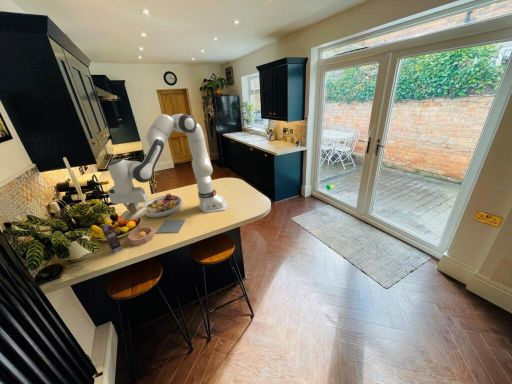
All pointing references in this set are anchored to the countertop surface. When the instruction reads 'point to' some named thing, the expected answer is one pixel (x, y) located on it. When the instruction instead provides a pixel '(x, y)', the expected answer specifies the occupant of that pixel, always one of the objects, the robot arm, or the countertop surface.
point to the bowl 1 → (141, 240)
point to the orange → (142, 234)
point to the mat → (170, 226)
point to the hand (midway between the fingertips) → (132, 208)
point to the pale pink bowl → (133, 212)
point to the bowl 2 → (162, 205)
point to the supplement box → (111, 238)
